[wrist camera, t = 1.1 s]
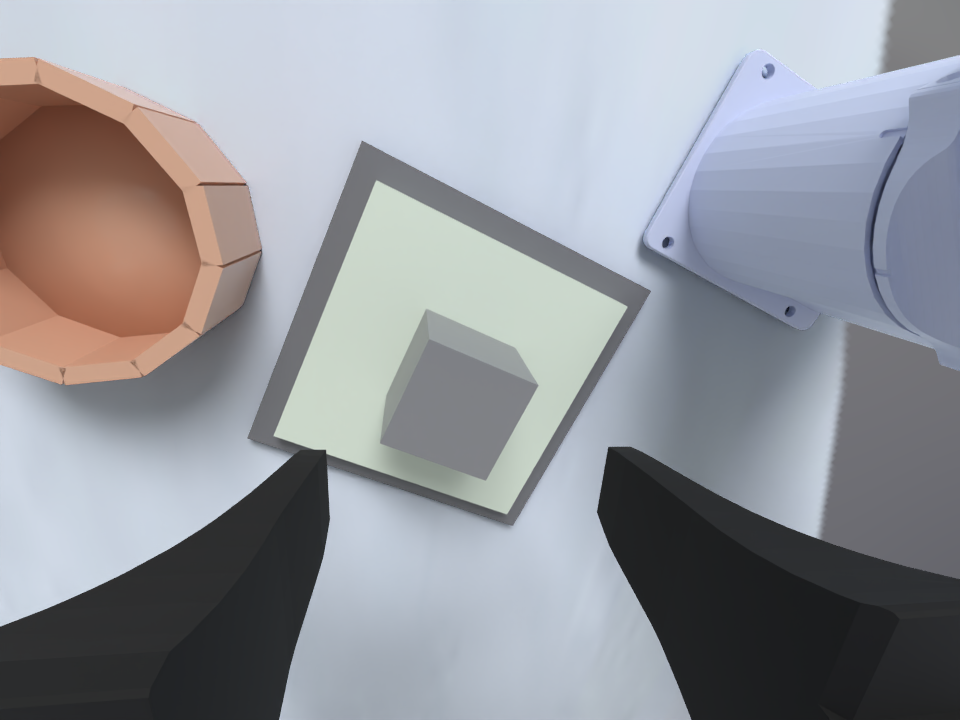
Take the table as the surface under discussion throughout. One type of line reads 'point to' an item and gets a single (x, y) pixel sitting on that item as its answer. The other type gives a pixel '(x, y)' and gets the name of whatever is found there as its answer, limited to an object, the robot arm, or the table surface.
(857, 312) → the robot arm
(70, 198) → the tan bowl
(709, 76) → the table surface
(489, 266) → the sheet lid
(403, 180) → the mat
